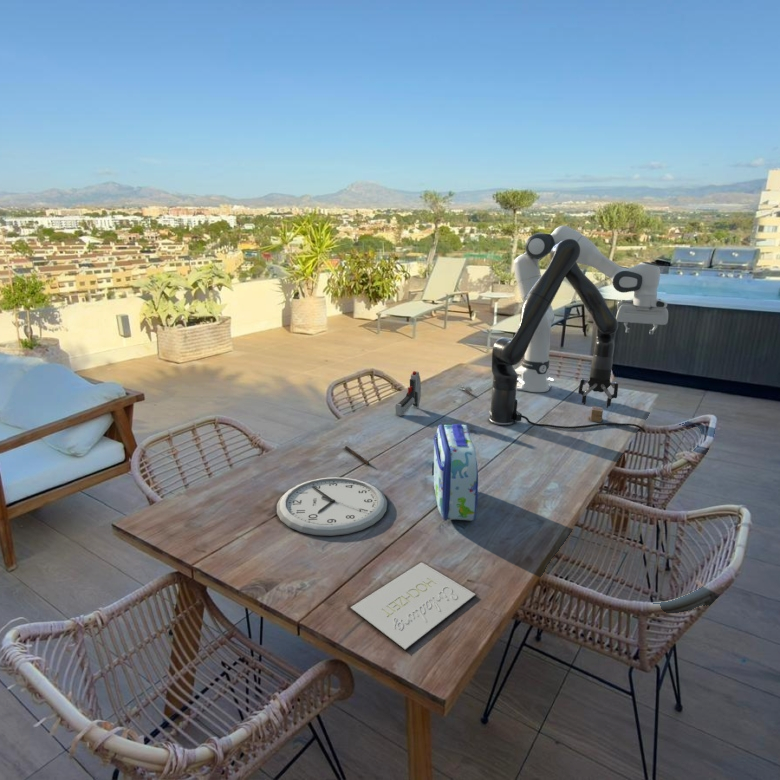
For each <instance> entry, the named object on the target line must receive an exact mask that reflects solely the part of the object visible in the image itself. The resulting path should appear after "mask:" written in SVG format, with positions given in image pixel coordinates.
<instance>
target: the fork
mask: <svg viewBox="0 0 780 780" xmlns="http://www.w3.org/2000/svg"><path fill="white" fill-rule="evenodd" d="M457 386H458V389H459V390H463V391H465V393H467V394H469V395H470V396H471V397H474V394H473V393H472V392H470V391H469V390H467V389H466V388H465V386H464V384H463V383H458V384H457Z"/></svg>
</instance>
